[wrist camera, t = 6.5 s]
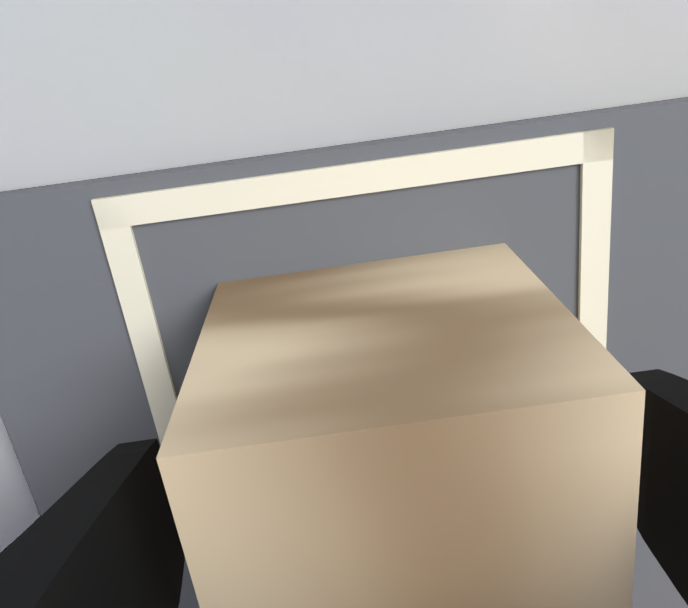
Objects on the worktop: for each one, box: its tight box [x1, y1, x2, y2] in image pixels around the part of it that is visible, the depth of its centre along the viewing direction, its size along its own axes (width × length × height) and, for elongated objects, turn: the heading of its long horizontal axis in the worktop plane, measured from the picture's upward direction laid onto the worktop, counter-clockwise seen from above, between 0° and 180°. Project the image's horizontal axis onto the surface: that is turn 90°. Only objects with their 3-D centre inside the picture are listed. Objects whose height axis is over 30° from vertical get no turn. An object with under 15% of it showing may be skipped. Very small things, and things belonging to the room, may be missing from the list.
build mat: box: [0, 97, 688, 608], centre depth 14 cm, size 19×20×1 cm
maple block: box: [156, 243, 646, 608], centre depth 10 cm, size 5×5×5 cm
